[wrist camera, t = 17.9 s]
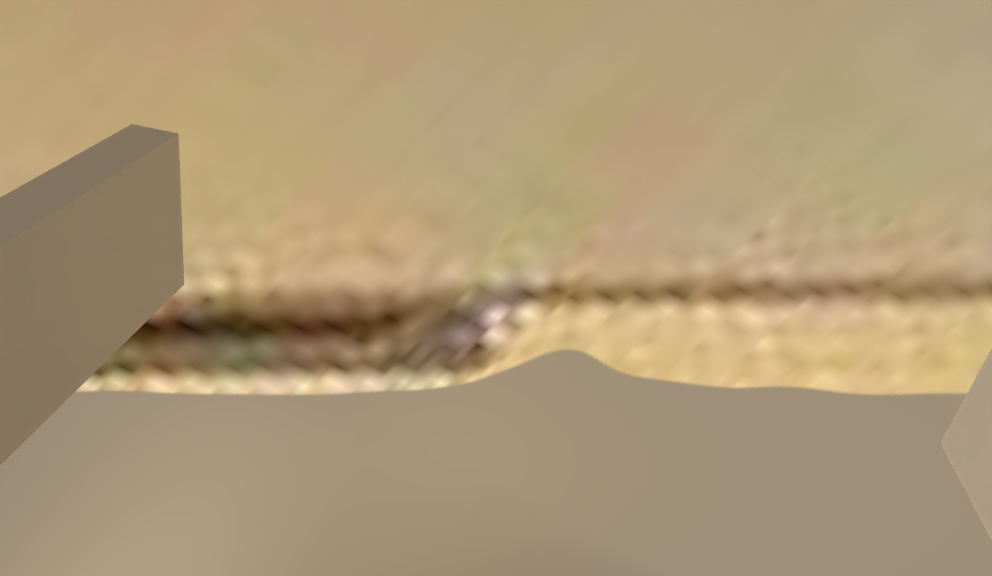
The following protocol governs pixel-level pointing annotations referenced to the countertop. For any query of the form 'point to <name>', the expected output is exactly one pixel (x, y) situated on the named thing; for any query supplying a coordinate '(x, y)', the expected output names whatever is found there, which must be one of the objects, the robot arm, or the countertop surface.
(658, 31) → the countertop surface
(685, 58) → the countertop surface
